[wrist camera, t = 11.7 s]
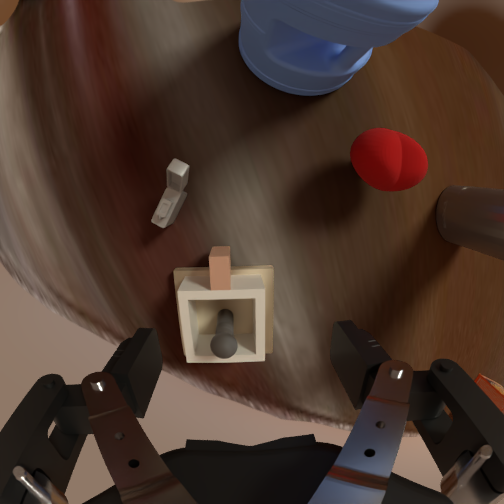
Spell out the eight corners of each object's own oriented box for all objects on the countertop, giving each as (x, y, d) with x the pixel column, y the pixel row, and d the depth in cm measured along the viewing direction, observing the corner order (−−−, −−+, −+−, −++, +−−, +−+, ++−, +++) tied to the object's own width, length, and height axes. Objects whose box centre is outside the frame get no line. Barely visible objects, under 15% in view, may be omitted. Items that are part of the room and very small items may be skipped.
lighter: (172, 224, 32) (154, 234, 24) (160, 217, 32) (139, 226, 24) (199, 171, 31) (188, 165, 23) (186, 165, 31) (172, 157, 23)
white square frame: (260, 245, 32) (265, 255, 27) (260, 339, 35) (264, 360, 30) (183, 247, 31) (174, 257, 26) (192, 340, 34) (187, 362, 29)
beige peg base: (272, 265, 34) (286, 294, 24) (271, 347, 37) (282, 393, 27) (175, 267, 33) (154, 297, 24) (185, 349, 36) (173, 395, 26)
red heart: (392, 145, 31) (438, 135, 22) (390, 194, 33) (436, 198, 23) (331, 131, 31) (366, 112, 21) (328, 185, 32) (364, 184, 22)
